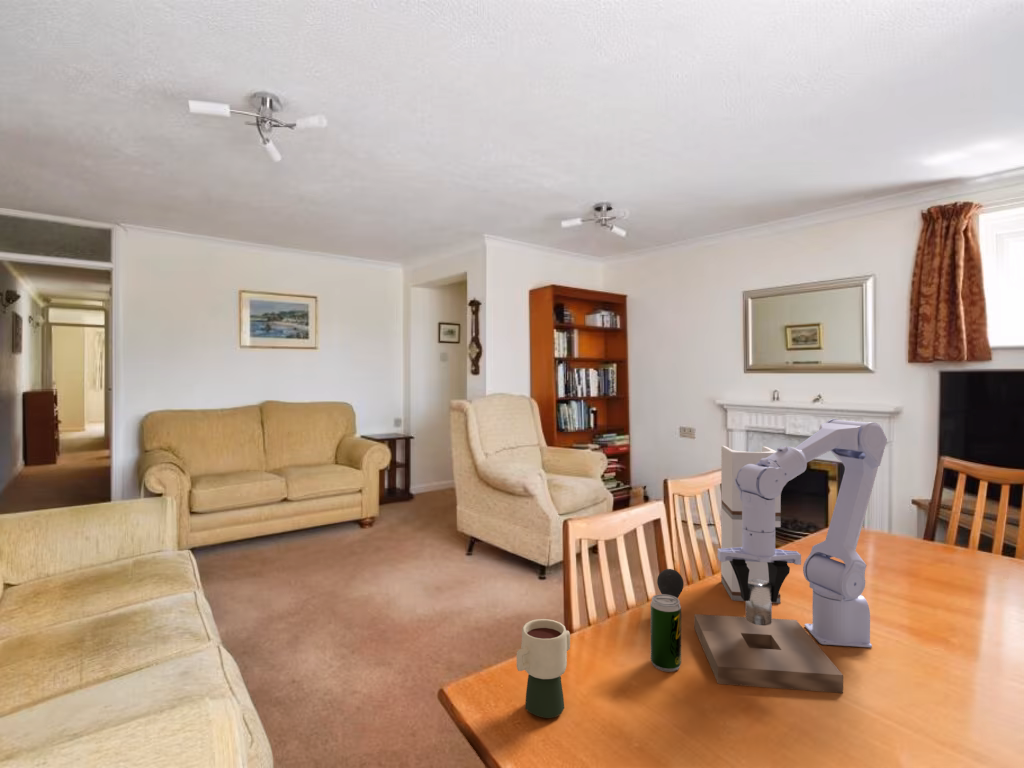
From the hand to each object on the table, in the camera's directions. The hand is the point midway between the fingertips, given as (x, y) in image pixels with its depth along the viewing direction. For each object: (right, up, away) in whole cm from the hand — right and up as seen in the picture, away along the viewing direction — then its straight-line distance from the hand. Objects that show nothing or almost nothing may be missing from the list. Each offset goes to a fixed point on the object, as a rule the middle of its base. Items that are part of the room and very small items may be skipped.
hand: (758, 599), depth 100 cm
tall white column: (+11, -10, +29) cm, 32 cm away
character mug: (-42, -11, -16) cm, 46 cm away
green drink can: (-19, -11, -4) cm, 22 cm away
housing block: (0, -10, -1) cm, 10 cm away
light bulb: (-12, -10, +17) cm, 23 cm away
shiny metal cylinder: (0, -4, 0) cm, 4 cm away
